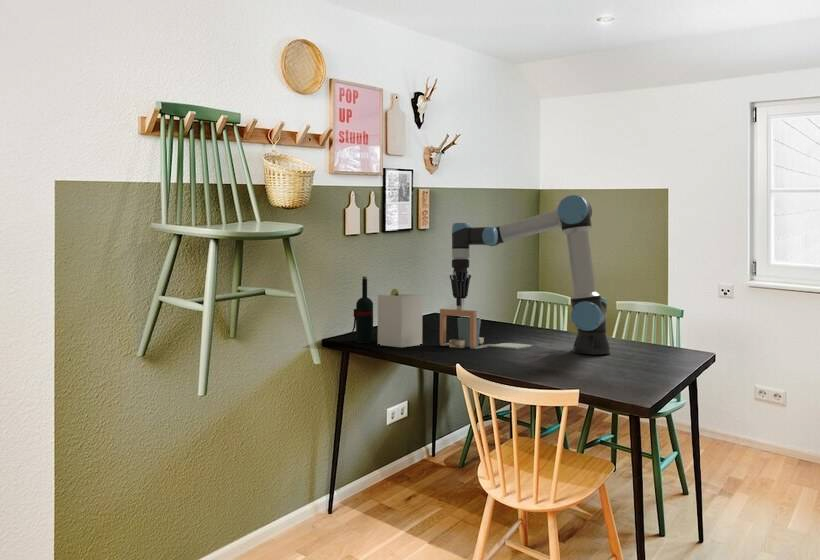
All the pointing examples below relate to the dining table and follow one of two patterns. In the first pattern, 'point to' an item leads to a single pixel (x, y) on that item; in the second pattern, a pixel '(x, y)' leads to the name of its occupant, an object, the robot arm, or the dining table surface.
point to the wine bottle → (364, 316)
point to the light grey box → (400, 320)
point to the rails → (472, 347)
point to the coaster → (511, 345)
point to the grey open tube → (467, 330)
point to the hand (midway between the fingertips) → (460, 313)
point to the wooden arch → (458, 313)
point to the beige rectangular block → (462, 343)
